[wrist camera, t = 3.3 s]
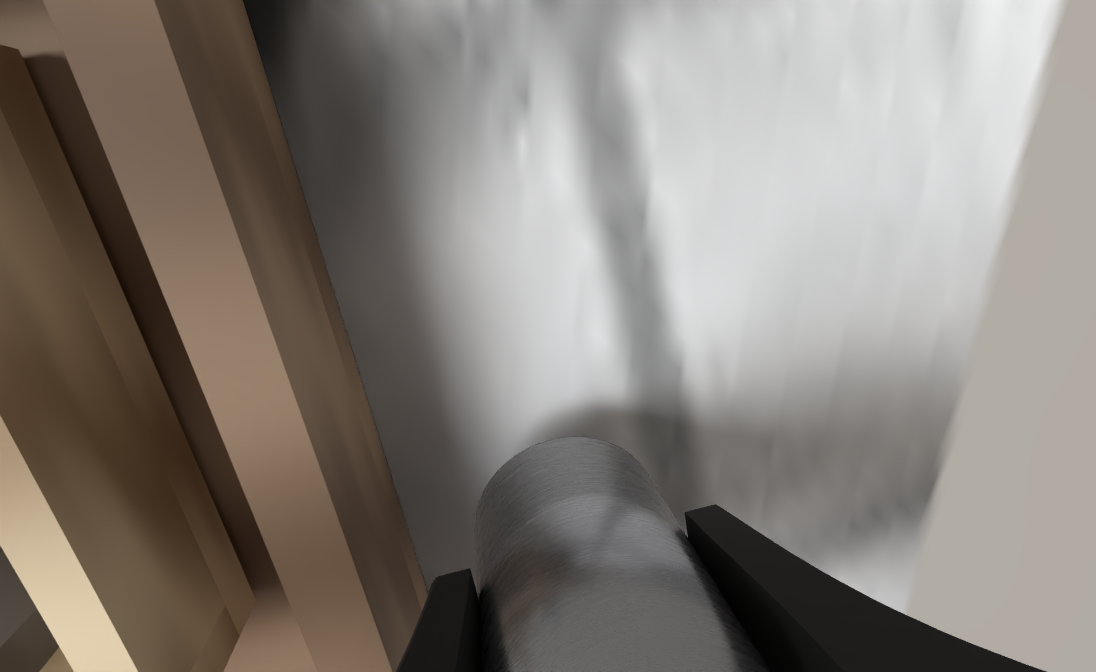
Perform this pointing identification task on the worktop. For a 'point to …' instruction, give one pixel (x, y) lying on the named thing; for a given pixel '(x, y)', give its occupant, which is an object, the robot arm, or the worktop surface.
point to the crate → (92, 446)
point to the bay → (233, 313)
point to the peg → (595, 571)
